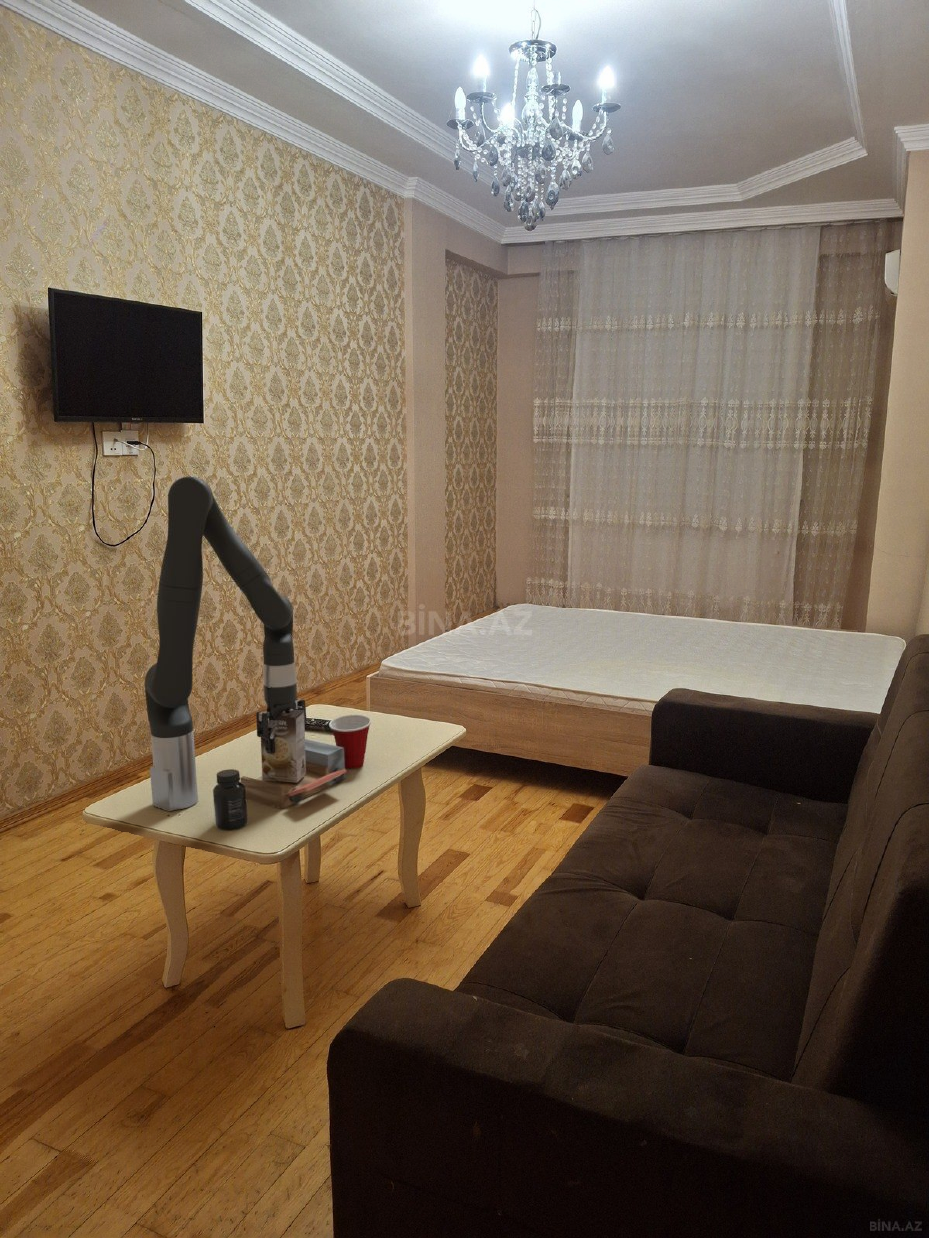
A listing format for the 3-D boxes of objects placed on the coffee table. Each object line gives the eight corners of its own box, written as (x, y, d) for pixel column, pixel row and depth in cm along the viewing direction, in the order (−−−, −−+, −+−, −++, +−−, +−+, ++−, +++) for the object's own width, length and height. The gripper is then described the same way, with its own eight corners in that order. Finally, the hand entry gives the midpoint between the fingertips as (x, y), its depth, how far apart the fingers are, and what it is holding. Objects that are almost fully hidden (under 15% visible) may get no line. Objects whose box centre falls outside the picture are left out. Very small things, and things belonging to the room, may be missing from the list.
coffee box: (260, 780, 211) (257, 715, 208) (271, 771, 217) (268, 707, 214) (298, 783, 209) (295, 717, 206) (307, 773, 215) (304, 709, 212)
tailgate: (289, 797, 203) (307, 791, 200) (288, 792, 203) (305, 787, 200) (329, 778, 215) (346, 772, 211) (328, 774, 215) (345, 768, 211)
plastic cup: (321, 768, 229) (320, 723, 226) (347, 755, 238) (345, 712, 236) (356, 775, 224) (355, 729, 221) (381, 762, 233) (379, 717, 231)
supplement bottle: (250, 817, 199) (247, 766, 197) (244, 831, 192) (241, 778, 190) (219, 818, 199) (216, 767, 197) (212, 831, 192) (208, 779, 190)
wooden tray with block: (285, 809, 203) (283, 776, 202) (241, 797, 211) (239, 765, 209) (348, 779, 221) (347, 748, 220) (305, 768, 229) (304, 738, 227)
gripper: (289, 672, 216) (292, 737, 219) (245, 686, 205) (249, 754, 208) (313, 676, 212) (315, 742, 216) (269, 690, 201) (273, 760, 204)
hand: (283, 748), depth 212 cm, fingers closed on coffee box, 8 cm apart
